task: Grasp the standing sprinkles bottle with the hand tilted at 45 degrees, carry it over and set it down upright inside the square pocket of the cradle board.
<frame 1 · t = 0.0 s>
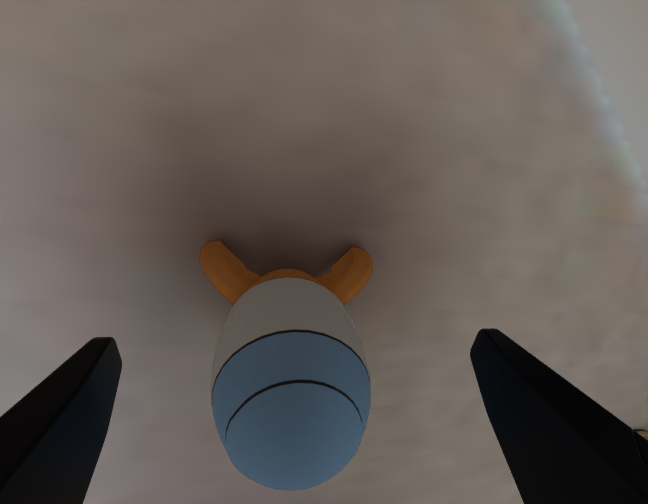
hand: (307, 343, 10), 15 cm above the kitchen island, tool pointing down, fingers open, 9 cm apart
toy rocket: (280, 299, 27), on the kitchen island
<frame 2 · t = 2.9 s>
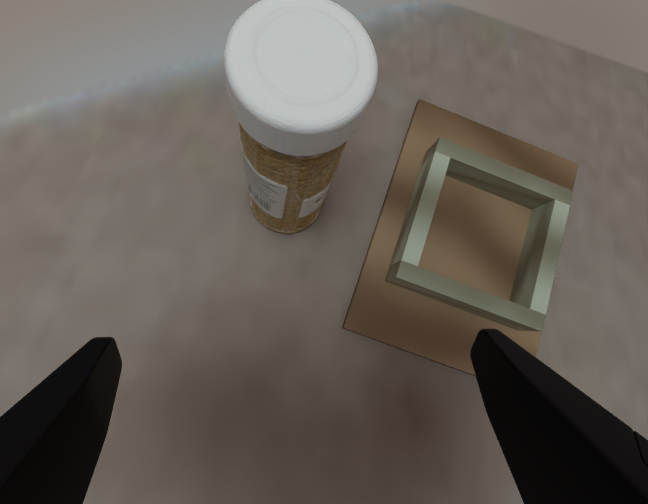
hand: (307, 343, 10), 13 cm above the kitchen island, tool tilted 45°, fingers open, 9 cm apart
cradle: (467, 240, 25), on the kitchen island
sprinkles bottle: (285, 199, 24), on the kitchen island
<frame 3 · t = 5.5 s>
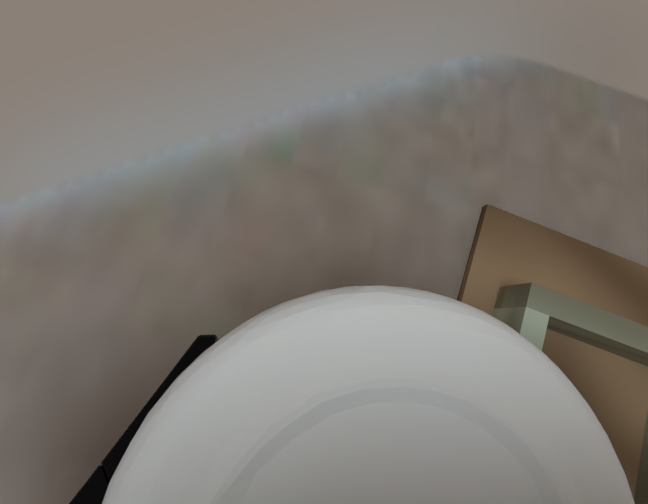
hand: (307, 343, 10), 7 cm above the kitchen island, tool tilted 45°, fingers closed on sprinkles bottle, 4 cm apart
cradle: (562, 420, 17), on the kitchen island
sprinkles bottle: (292, 369, 16), on the kitchen island, touching gripper
when the fingers open (9 cm above the kitchen island, at t = 8.9 s): sprinkles bottle drops 2 cm, resting on cradle.
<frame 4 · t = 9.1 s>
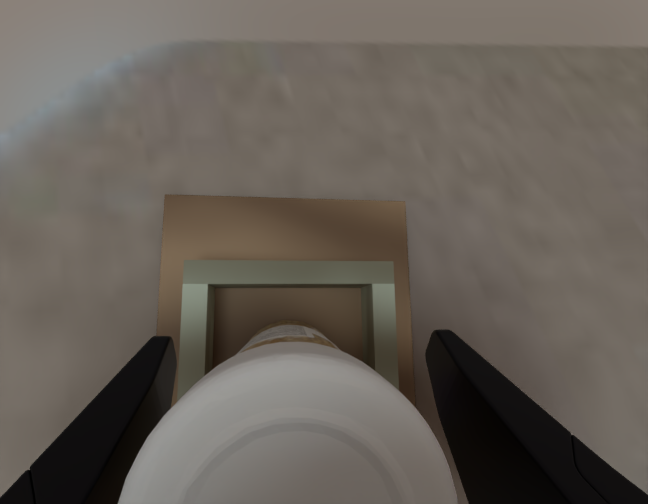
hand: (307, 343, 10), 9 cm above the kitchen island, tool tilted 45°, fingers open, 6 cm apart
cradle: (289, 362, 19), on the kitchen island
sprinkles bottle: (287, 367, 18), resting on cradle
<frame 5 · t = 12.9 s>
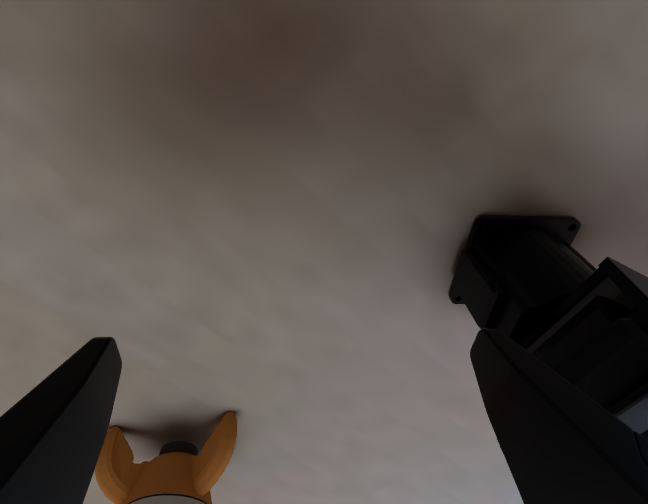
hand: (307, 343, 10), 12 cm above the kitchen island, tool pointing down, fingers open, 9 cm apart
toy rocket: (195, 431, 32), on the kitchen island
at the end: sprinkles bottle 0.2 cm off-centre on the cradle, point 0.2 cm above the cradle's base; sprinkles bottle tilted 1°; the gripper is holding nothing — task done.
